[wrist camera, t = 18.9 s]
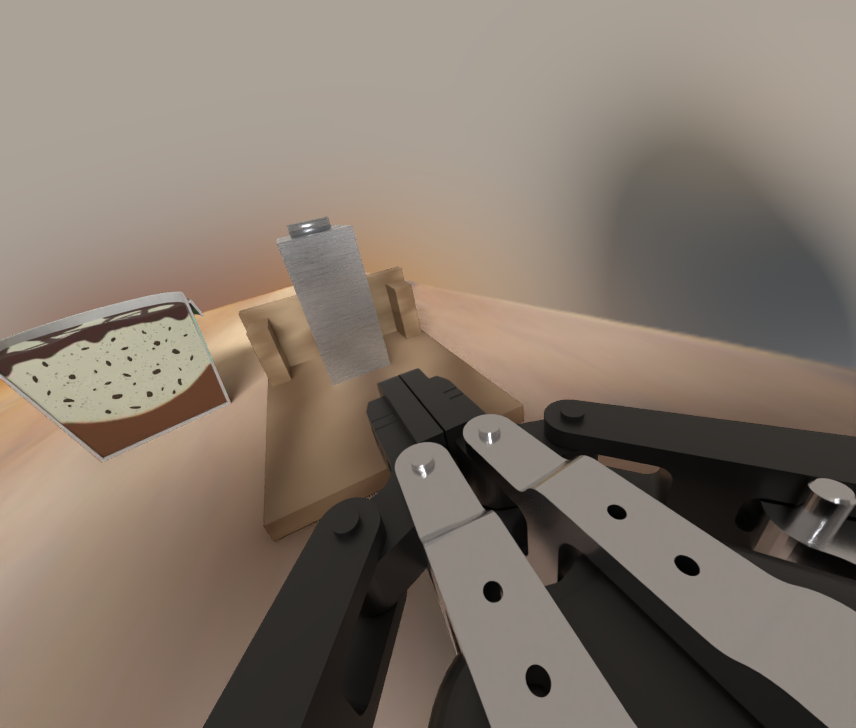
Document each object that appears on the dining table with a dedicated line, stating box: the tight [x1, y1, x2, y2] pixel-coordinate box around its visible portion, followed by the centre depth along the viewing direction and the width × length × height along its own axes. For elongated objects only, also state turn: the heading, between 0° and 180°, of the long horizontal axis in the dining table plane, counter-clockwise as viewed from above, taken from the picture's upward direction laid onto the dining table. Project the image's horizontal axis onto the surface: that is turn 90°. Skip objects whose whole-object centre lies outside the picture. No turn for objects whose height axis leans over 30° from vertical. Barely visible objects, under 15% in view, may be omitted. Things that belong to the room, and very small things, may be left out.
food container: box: [0, 292, 231, 462], centre depth 27 cm, size 12×6×10 cm, turn 129°
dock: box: [239, 267, 524, 541], centre depth 24 cm, size 15×19×7 cm
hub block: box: [276, 217, 391, 386], centre depth 26 cm, size 5×6×12 cm
